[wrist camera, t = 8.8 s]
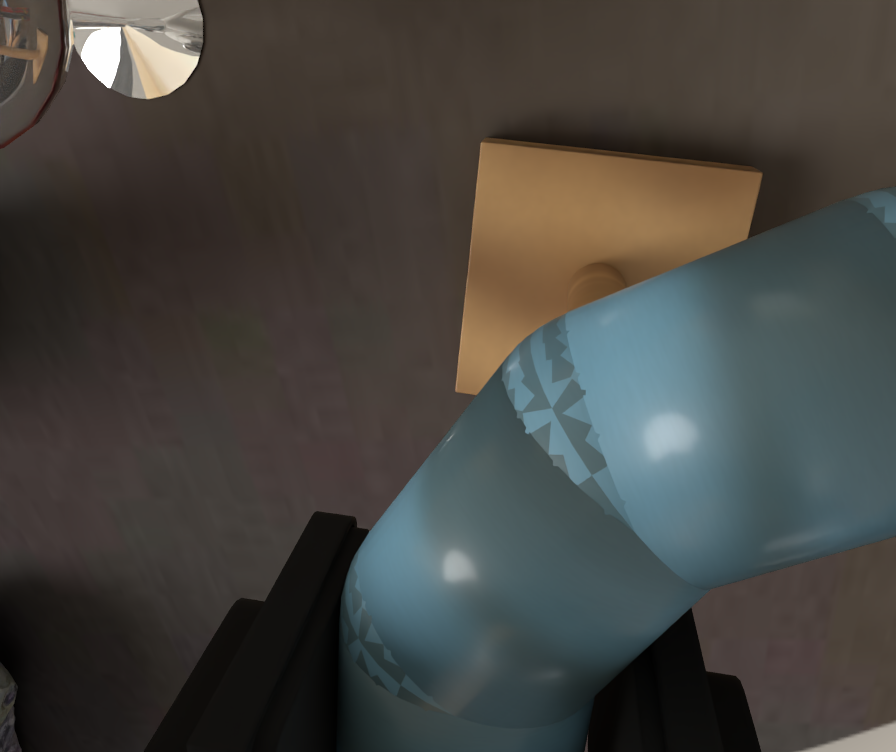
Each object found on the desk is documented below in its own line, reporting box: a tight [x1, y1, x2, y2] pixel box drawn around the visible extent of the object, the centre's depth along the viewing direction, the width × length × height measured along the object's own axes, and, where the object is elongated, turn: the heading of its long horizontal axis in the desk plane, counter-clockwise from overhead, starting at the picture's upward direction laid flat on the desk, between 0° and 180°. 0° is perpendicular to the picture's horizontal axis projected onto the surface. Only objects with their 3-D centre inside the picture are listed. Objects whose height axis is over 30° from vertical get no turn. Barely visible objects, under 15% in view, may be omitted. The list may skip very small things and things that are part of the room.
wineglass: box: [0, 0, 203, 149], centre depth 21 cm, size 7×7×12 cm
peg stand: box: [455, 137, 763, 395], centre depth 22 cm, size 9×9×12 cm
